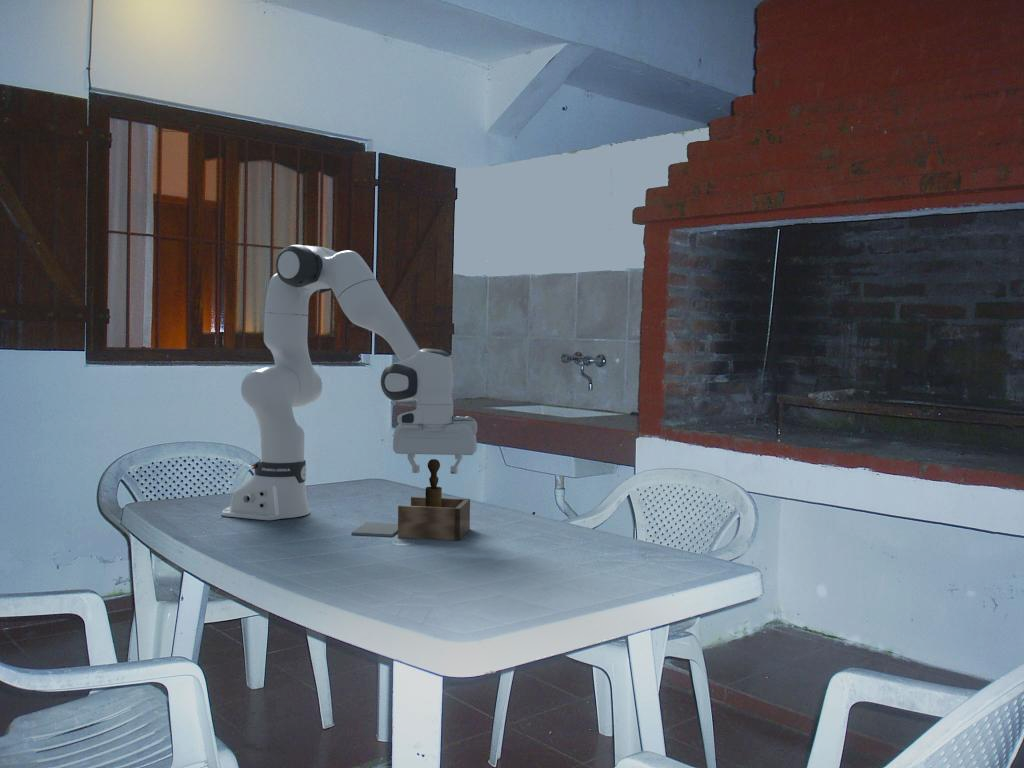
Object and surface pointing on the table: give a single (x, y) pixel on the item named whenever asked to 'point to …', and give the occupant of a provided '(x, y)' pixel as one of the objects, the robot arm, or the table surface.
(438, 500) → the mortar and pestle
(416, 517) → the walnut bay
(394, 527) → the grey rubber mat
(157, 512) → the table surface
